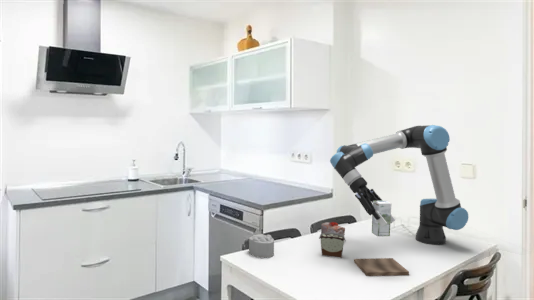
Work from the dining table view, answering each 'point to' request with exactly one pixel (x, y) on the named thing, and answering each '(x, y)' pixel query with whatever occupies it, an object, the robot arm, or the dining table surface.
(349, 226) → the dining table surface
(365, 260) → the walnut board
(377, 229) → the syrup box
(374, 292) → the dining table surface
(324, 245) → the food container
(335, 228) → the food item
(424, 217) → the robot arm
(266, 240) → the lumpy-topped squat cylinder
